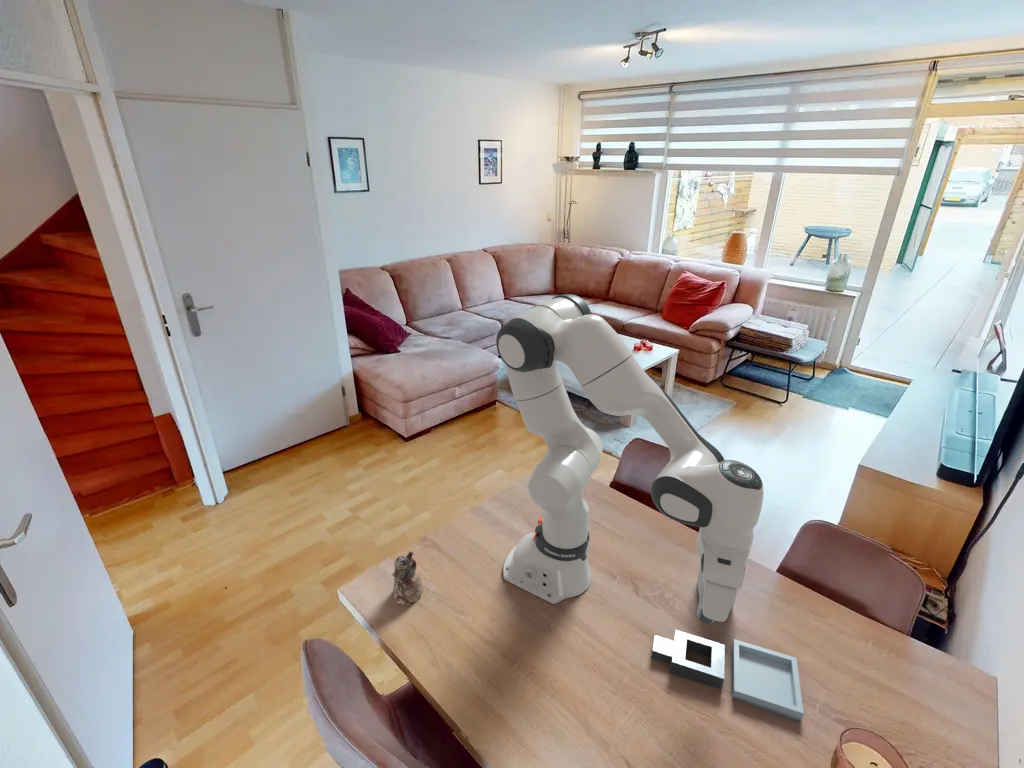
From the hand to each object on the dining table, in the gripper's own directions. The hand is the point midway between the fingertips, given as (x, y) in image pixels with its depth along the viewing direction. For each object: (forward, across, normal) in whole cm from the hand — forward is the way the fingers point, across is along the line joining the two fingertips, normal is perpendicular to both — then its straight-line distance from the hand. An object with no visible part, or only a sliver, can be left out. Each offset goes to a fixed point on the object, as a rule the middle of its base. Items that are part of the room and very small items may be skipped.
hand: (710, 597), depth 96 cm
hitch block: (+20, 0, -2) cm, 20 cm away
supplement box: (+20, -20, +3) cm, 28 cm away
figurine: (+20, +6, -67) cm, 70 cm away
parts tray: (+20, -1, +13) cm, 24 cm away
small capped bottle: (+5, 0, 0) cm, 5 cm away
